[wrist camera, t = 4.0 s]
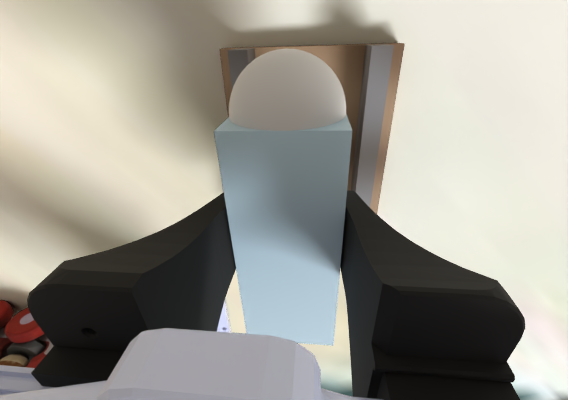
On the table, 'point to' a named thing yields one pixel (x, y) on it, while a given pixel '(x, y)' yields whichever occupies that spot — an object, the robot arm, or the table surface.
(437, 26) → the table surface
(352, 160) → the cradle
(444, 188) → the table surface
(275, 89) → the dome-topped blue pillar
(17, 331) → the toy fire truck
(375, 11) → the table surface
